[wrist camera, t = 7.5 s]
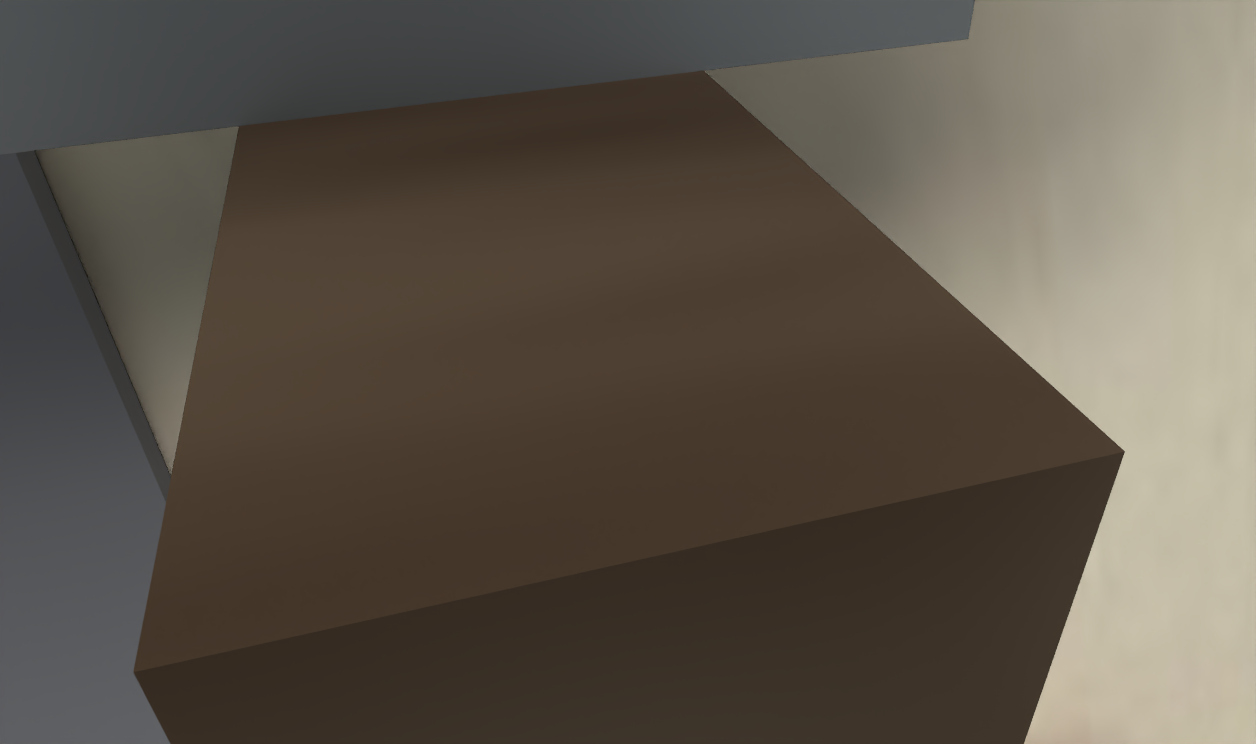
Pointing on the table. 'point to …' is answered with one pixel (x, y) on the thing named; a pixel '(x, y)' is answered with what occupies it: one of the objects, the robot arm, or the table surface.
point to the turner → (566, 388)
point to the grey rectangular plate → (68, 491)
